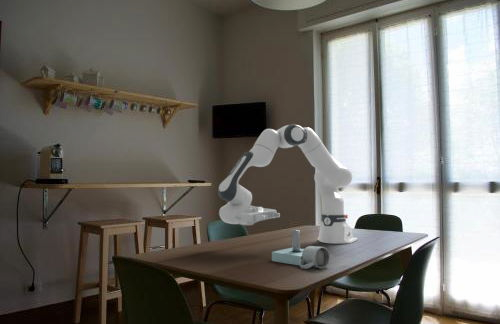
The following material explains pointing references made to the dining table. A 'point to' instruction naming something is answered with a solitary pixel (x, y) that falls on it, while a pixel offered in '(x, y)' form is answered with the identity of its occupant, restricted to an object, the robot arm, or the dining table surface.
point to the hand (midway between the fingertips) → (272, 216)
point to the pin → (296, 241)
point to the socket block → (287, 256)
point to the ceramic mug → (315, 257)
